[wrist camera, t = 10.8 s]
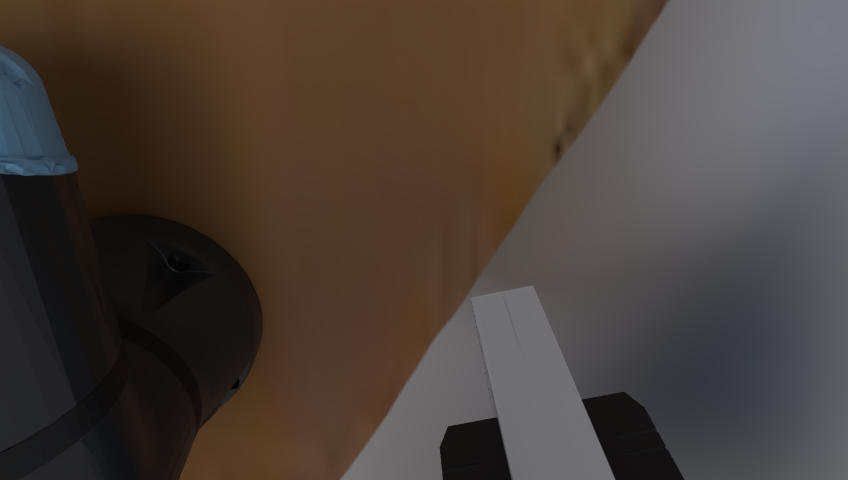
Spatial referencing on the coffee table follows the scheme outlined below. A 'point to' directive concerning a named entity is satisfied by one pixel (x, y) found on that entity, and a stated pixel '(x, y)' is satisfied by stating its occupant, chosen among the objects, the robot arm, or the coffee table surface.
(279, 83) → the coffee table surface
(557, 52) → the coffee table surface
